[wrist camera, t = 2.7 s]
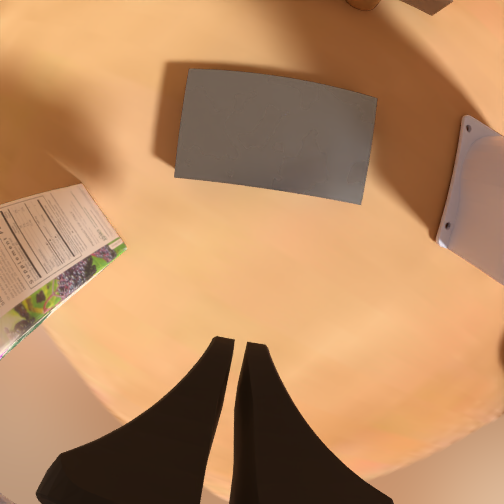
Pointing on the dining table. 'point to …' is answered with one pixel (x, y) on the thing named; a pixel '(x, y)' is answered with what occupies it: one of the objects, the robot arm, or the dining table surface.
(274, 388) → the robot arm
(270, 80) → the steel plate
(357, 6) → the bench dog strip
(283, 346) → the dining table surface
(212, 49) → the dining table surface
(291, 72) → the dining table surface
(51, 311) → the syrup box
